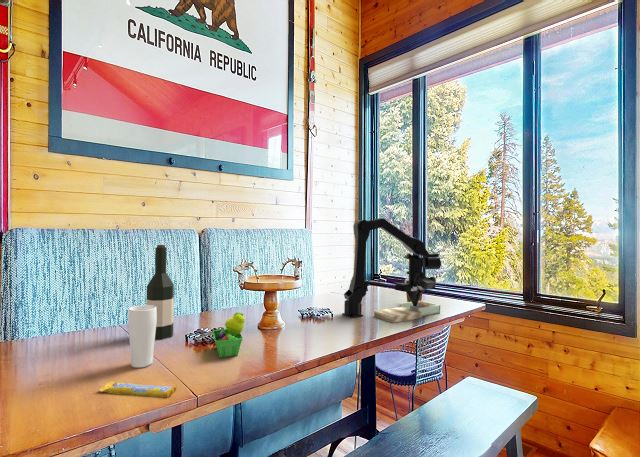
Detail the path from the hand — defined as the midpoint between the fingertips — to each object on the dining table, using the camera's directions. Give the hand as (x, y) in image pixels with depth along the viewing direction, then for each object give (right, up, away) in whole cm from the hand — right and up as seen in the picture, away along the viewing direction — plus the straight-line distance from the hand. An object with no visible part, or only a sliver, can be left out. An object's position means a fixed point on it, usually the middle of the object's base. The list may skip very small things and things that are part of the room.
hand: (415, 306), depth 158 cm
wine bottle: (-93, -3, -36) cm, 100 cm away
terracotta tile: (+3, -1, +2) cm, 3 cm away
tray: (+3, -4, +4) cm, 6 cm away
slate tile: (+1, -3, +1) cm, 3 cm away
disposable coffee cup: (+5, -4, +20) cm, 21 cm away
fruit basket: (-67, -3, -50) cm, 84 cm away
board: (-8, -3, -6) cm, 11 cm away
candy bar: (-80, -4, -76) cm, 111 cm away
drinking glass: (-87, -3, -61) cm, 106 cm away
